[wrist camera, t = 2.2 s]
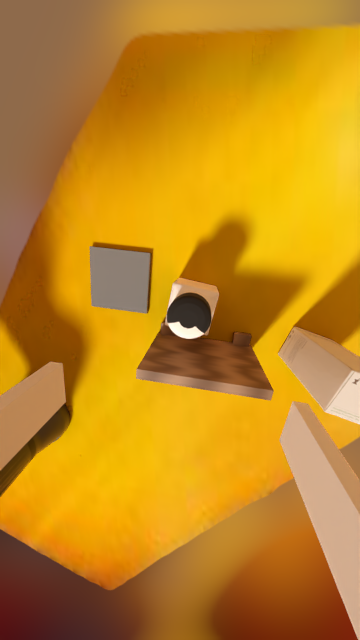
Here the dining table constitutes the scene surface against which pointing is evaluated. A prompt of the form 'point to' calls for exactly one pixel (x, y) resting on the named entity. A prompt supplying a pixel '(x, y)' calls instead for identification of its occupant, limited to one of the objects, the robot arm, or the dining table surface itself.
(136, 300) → the coaster
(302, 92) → the dining table surface
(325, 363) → the skincare box
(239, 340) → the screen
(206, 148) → the dining table surface
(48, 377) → the robot arm
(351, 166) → the dining table surface
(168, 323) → the medicine bottle
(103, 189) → the dining table surface
